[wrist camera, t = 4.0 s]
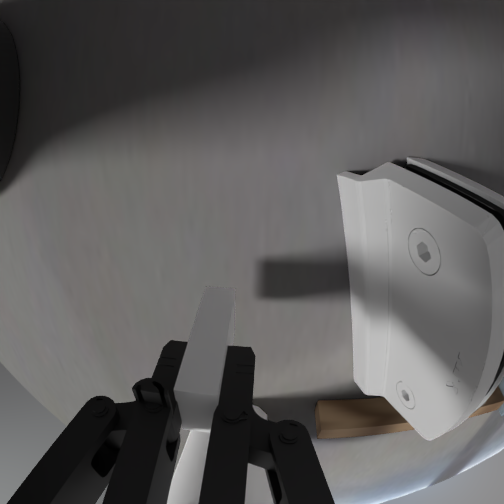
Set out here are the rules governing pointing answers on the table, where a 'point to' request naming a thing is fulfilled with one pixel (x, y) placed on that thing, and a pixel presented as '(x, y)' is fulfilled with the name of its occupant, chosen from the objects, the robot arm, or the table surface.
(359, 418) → the wooden handled mallet
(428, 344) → the white piece
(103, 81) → the table surface
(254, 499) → the foam cup
